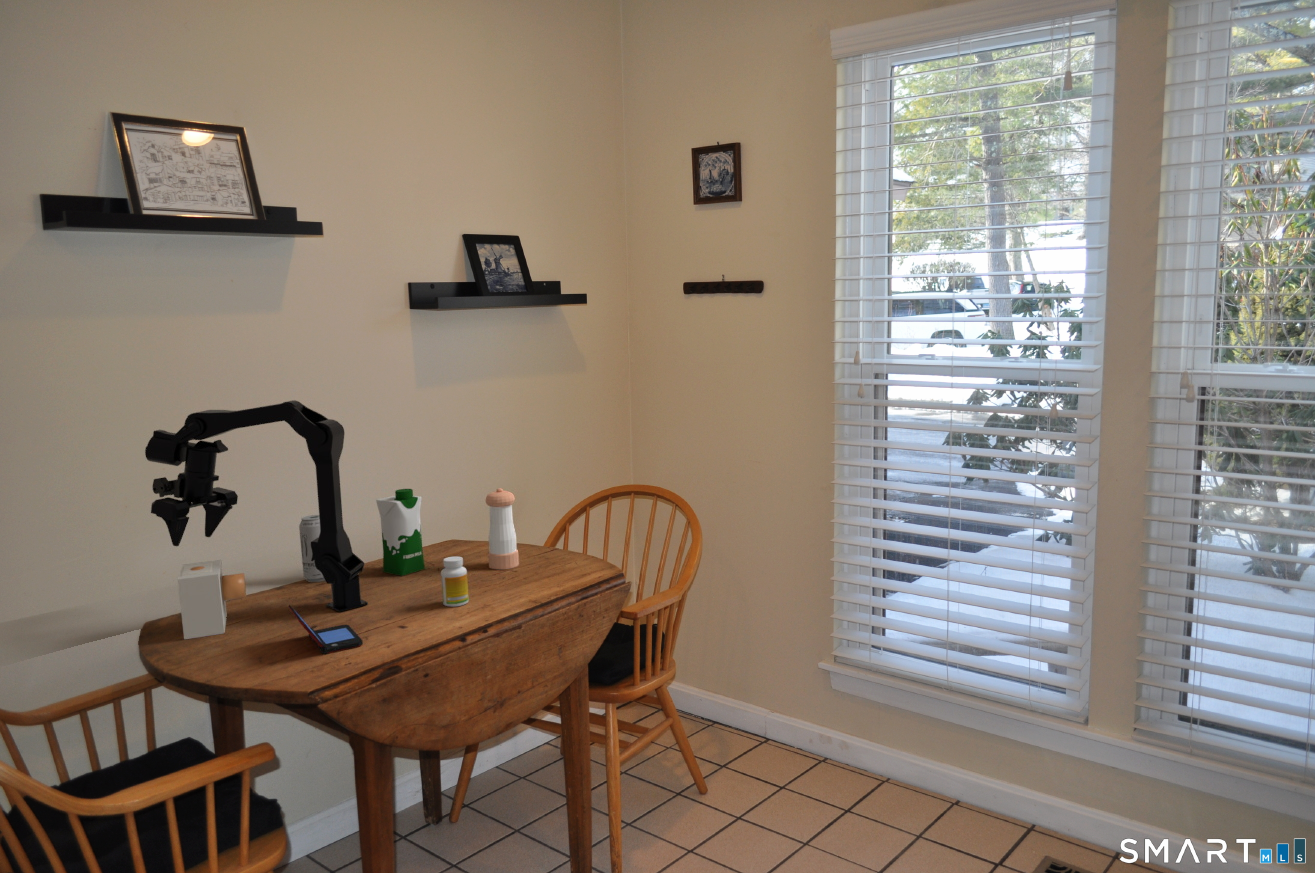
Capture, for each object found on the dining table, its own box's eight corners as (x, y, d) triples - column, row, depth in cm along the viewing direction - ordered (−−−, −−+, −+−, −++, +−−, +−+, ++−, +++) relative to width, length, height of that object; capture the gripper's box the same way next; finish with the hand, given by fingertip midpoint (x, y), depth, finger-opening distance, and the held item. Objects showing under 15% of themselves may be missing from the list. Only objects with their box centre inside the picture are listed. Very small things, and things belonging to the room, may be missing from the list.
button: (246, 593, 183) (243, 570, 182) (245, 600, 179) (243, 576, 178) (224, 596, 182) (222, 573, 181) (223, 603, 177) (221, 579, 176)
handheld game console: (364, 647, 165) (361, 608, 164) (303, 660, 159) (299, 621, 158) (348, 628, 176) (345, 592, 175) (290, 640, 170) (287, 603, 169)
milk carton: (401, 577, 209) (395, 494, 206) (377, 572, 214) (370, 491, 212) (430, 568, 216) (425, 487, 213) (406, 563, 221) (400, 484, 219)
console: (226, 615, 185) (221, 558, 184) (224, 633, 174) (218, 572, 173) (189, 621, 183) (183, 562, 181) (184, 639, 172) (177, 577, 170)
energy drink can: (299, 580, 210) (293, 518, 208) (323, 574, 214) (318, 513, 212) (311, 584, 206) (306, 521, 204) (335, 578, 210) (330, 516, 208)
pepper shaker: (516, 569, 213) (511, 490, 210) (486, 570, 213) (481, 491, 211) (521, 560, 220) (517, 485, 218) (492, 561, 220) (487, 485, 218)
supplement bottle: (473, 602, 189) (471, 557, 187) (452, 608, 185) (449, 563, 184) (459, 597, 192) (456, 553, 191) (437, 603, 188) (434, 559, 187)
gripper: (199, 456, 197) (192, 524, 199) (131, 467, 178) (124, 541, 181) (242, 467, 194) (234, 535, 196) (178, 479, 176) (170, 554, 178)
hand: (192, 541), depth 188 cm, fingers open, 9 cm apart
